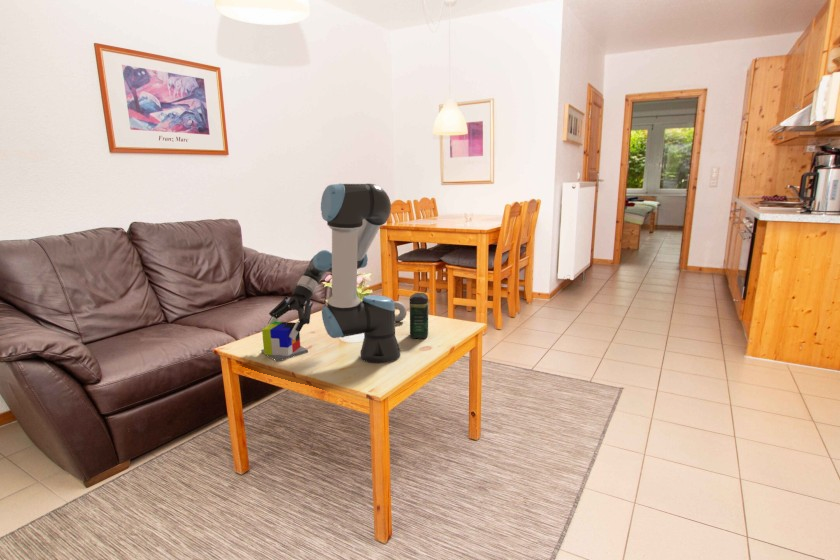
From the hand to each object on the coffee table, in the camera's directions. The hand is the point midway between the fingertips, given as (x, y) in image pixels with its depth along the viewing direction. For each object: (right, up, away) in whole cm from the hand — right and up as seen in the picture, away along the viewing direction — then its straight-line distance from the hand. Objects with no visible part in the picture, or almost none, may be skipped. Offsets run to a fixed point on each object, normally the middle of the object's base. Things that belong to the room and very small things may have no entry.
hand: (278, 335), depth 174 cm
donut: (+43, +1, +42) cm, 61 cm away
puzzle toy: (+1, -6, +2) cm, 7 cm away
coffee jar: (+54, -3, +21) cm, 58 cm away
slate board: (+1, -7, +3) cm, 8 cm away
